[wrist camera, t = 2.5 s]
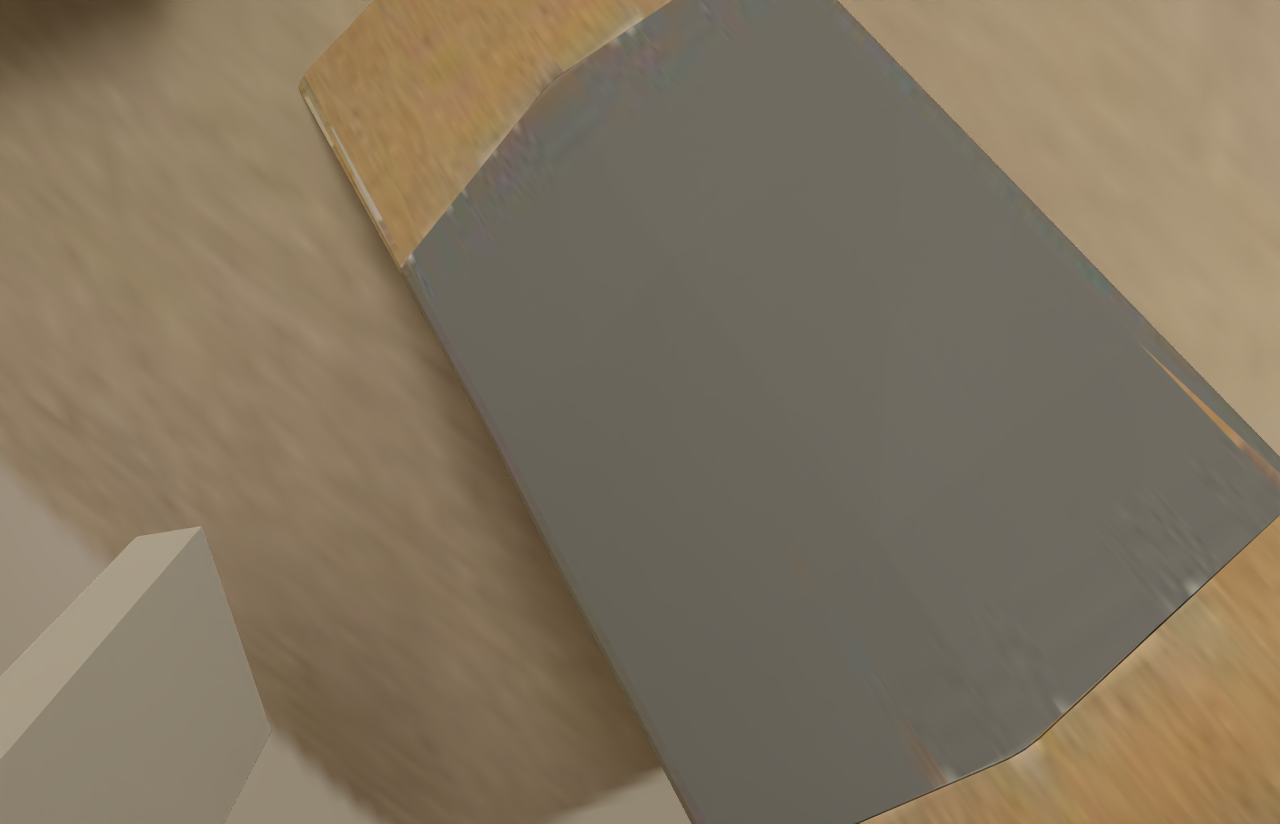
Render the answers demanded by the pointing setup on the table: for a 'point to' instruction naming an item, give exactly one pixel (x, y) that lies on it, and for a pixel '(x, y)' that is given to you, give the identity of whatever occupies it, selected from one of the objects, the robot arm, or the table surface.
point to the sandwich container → (823, 417)
